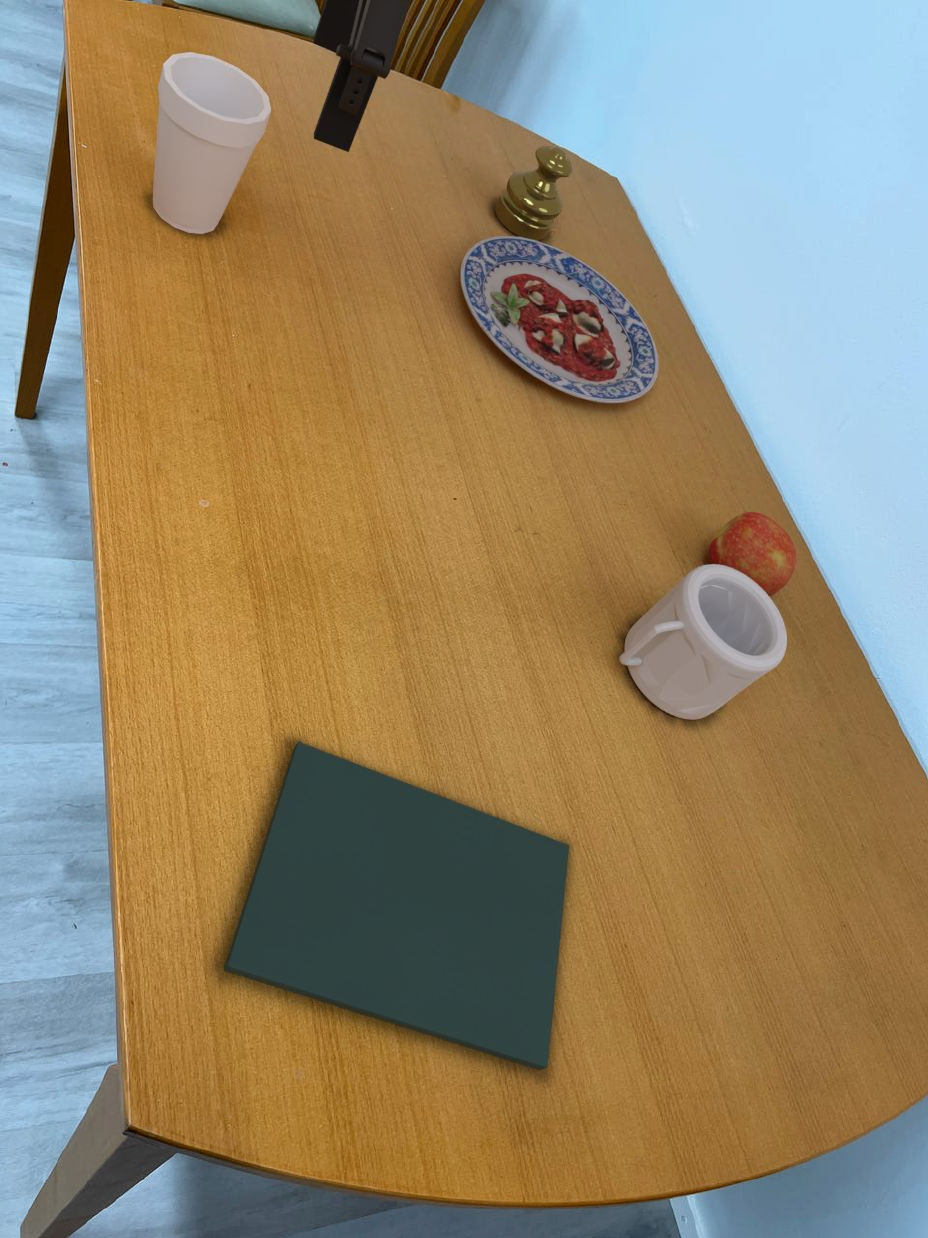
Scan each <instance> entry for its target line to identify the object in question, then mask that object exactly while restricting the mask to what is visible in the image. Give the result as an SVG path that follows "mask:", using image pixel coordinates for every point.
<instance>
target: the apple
mask: <svg viewBox="0 0 928 1238" xmlns="http://www.w3.org/2000/svg"><path fill="white" fill-rule="evenodd" d="M796 551H797V550H796V547H795V545H794V541H793V540H792V539H791V537H790V535H789V534H788V532H787V531H786V530H785V528H783V527H782V526H781V525H780V524H779V523H778V522H777V521H776V520H775V519H773V518H771V517H770V516H768V515H766V514H764V513H760V512H757V511H745V512H742V513H740V514H739V515H737V516H734V517H733V518H731V520H728V522H727V523H726V524H724V526H722V527H721V529H720V530H719V531H718V533H717V534H716V535H715V537H714V538H713V539H712V540H711V541H710V543H709V546H708V551H707V553H708V554H707V555H708V561H709V563H710V564H719V565H724V566H727V567H731V568H733V569H735V570H738V571H739V572H741V573H743V574H745V575H746V576H748V577H749V578H751V579H752V580H753V581H754V582H756V583H757V584H758V585H759V586H760V587H761V588H762V589H763V590H764V591H765V592H766V593H767V595H768V596H769V597H772V596H774V595H776V594H777V593H778V592H779V591H781V590H782V589H783V588H785V586H786V585H787V584H788V583H789V582H790V580H791V579H792V577H793V575H794V572H795V570H796V565H797V552H796Z"/></svg>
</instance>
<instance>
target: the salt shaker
mask: <svg viewBox="0 0 928 1238" xmlns="http://www.w3.org/2000/svg"><path fill="white" fill-rule="evenodd" d="M534 155H535V159H536V161H537V168H536V169H534V170H533V169H532V170H527V171H517V172H515V173H513V174H511V175H510V176H509V178H508V180H507V181H506V188H504V189H503V190H502V191H501V193H500V196H499V198H498V199H497V201H496V203H495V205H494V211H495V215H496V217H497V219H498V221H499V223H501V224H502V225H503V227H505V229H507V230H508V231H509V232H511V233H512V234H514V235H516V237H523V238H527V239H532V240H536V241H540V240H543V239H544V238H545V237H546V236H547V234H548V232H549V231H550V229H551V228H552V227H553V226H554V223H555V219H556V218H558V216H559V215H560V214H561V212H562V210H563V200H562V197H561V195H560V193H559V189H558V186H557V180H558V179H561V178H568V177H570V176H571V175H572V174H573V172H574V166H573V163H572V162H571V159H570V158H569V156H568V155H567V154H566V152H565V151H564V150H563V149H561V148H560V147H558V146H552V145H540V146H538V147H537V148H536V150H535V152H534Z"/></svg>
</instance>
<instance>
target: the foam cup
mask: <svg viewBox="0 0 928 1238" xmlns="http://www.w3.org/2000/svg"><path fill="white" fill-rule="evenodd" d="M157 93H158V94H157V95H158V116H157V130H156V131H157V132H156V143H155V144H156V145H155V158H154V172H153V186H152V207H153V210H154V211H155V212H156V213H157V215H158V217H159V218H160V219H161V220H163V221H164V222H166V223H167V224H168V225H170V226H171V227H172V228H175V229H177V230H180V231H182V232H185V233H188V234H196V235H197V234H198V235H204V234H207V233H210V232H214V230H215V229H216V227H217V226H218V225H219V222H220V220H221V219H222V218H223V215H224V213H225V211H226V209H227V207H228V204H229V203H230V200H231V198H232V196H233V194H234V193H235V190H236V188H237V186H238V184H239V182H240V180H241V177H242V176H243V173H244V171H245V168H246V167H247V166H248V163H249V160H250V159H251V157H252V154H253V153H254V150H255V149H256V146H257V144H258V143H259V141H260V140H261V139H262V137H263V136H264V135H265V132H266V129H267V126H268V122H269V119H270V116H271V113H272V108H271V102H270V97H269V95H268V94H267V93H266V92H265V90H264V89H263V88H262V86H260V84H259V82H258V81H256V80H255V79H254V78H253V77H251V76H250V75H248V74H247V73H246V72H244V71H243V70H242V69H241V68H239V67H238V66H236V65H233V64H231V63H230V62H226V61H225V60H223V59H220V58H217V57H215V56H213V55H209V54H208V55H207V54H202V53H197V52H192V51H188V52H182V53H181V52H179V53H173V54H171V55H170V57H169V58H167V60H166V61H165V62H164V63H163V64H162V68H161V73H160V77H159V82H158V87H157Z"/></svg>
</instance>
